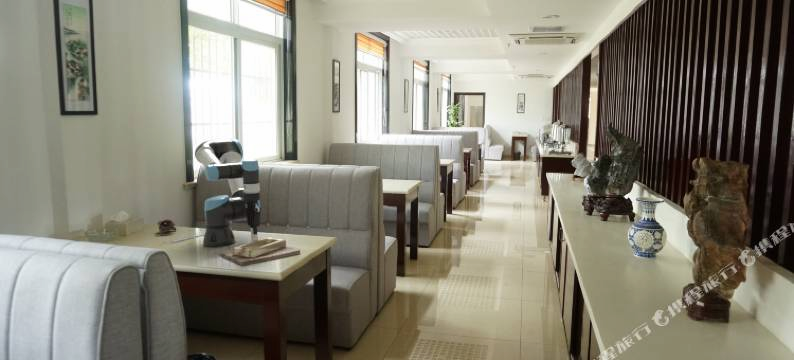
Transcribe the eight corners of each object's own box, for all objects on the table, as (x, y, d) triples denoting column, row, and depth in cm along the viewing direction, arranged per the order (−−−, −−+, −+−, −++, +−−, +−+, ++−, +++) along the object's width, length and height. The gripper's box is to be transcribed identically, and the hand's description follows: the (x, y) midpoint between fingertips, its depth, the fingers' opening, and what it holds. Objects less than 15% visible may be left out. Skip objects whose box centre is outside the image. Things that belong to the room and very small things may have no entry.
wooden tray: (232, 254, 245) (232, 247, 244) (266, 243, 264) (266, 236, 263) (252, 257, 239) (252, 250, 239) (286, 245, 258) (285, 238, 258)
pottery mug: (181, 231, 303) (178, 220, 298) (168, 242, 296) (164, 231, 291) (165, 224, 307) (161, 213, 302) (152, 235, 300) (148, 224, 295)
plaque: (204, 231, 303) (204, 230, 303) (216, 233, 298) (216, 232, 298) (150, 244, 275) (150, 243, 275) (163, 246, 270) (162, 245, 270)
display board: (219, 255, 251) (219, 251, 251) (274, 244, 269) (274, 240, 269) (242, 266, 233) (242, 262, 233) (300, 253, 251) (300, 250, 251)
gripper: (238, 191, 264) (241, 239, 268) (250, 194, 255) (253, 244, 258) (252, 189, 269) (255, 236, 272) (265, 192, 259) (268, 241, 263)
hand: (254, 240), depth 265 cm, fingers closed
